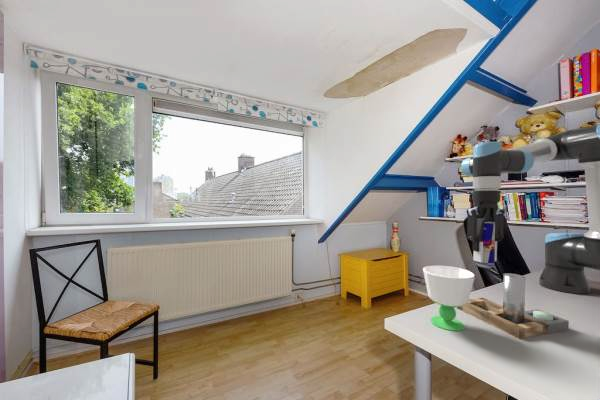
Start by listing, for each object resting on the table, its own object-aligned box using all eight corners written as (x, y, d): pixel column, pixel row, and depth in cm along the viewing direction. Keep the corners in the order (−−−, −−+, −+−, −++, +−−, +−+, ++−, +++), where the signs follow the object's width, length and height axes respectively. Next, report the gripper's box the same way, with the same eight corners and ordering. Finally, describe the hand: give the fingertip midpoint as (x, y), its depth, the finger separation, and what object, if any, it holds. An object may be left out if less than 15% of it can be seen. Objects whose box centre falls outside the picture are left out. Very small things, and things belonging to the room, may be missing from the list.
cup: (442, 337, 72) (442, 279, 72) (413, 314, 86) (413, 266, 85) (486, 333, 74) (487, 277, 74) (451, 312, 88) (451, 264, 88)
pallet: (482, 304, 94) (482, 297, 94) (548, 333, 74) (548, 324, 74) (457, 308, 91) (457, 300, 91) (519, 338, 71) (519, 329, 71)
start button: (539, 317, 82) (539, 310, 82) (556, 324, 78) (556, 316, 78) (529, 319, 81) (529, 311, 81) (545, 326, 76) (545, 318, 76)
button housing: (537, 317, 84) (537, 309, 84) (568, 329, 76) (568, 320, 76) (518, 320, 82) (518, 312, 82) (548, 333, 74) (548, 324, 74)
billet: (511, 321, 81) (511, 272, 81) (528, 329, 76) (529, 277, 76) (498, 323, 80) (499, 274, 80) (515, 331, 75) (516, 279, 75)
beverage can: (479, 267, 85) (480, 221, 85) (472, 263, 90) (473, 220, 90) (497, 268, 84) (498, 221, 84) (489, 264, 89) (490, 220, 89)
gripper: (496, 190, 93) (495, 256, 93) (454, 190, 88) (453, 259, 88) (519, 190, 85) (517, 262, 86) (474, 189, 81) (473, 265, 81)
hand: (484, 260), depth 87 cm, fingers closed on beverage can, 5 cm apart
